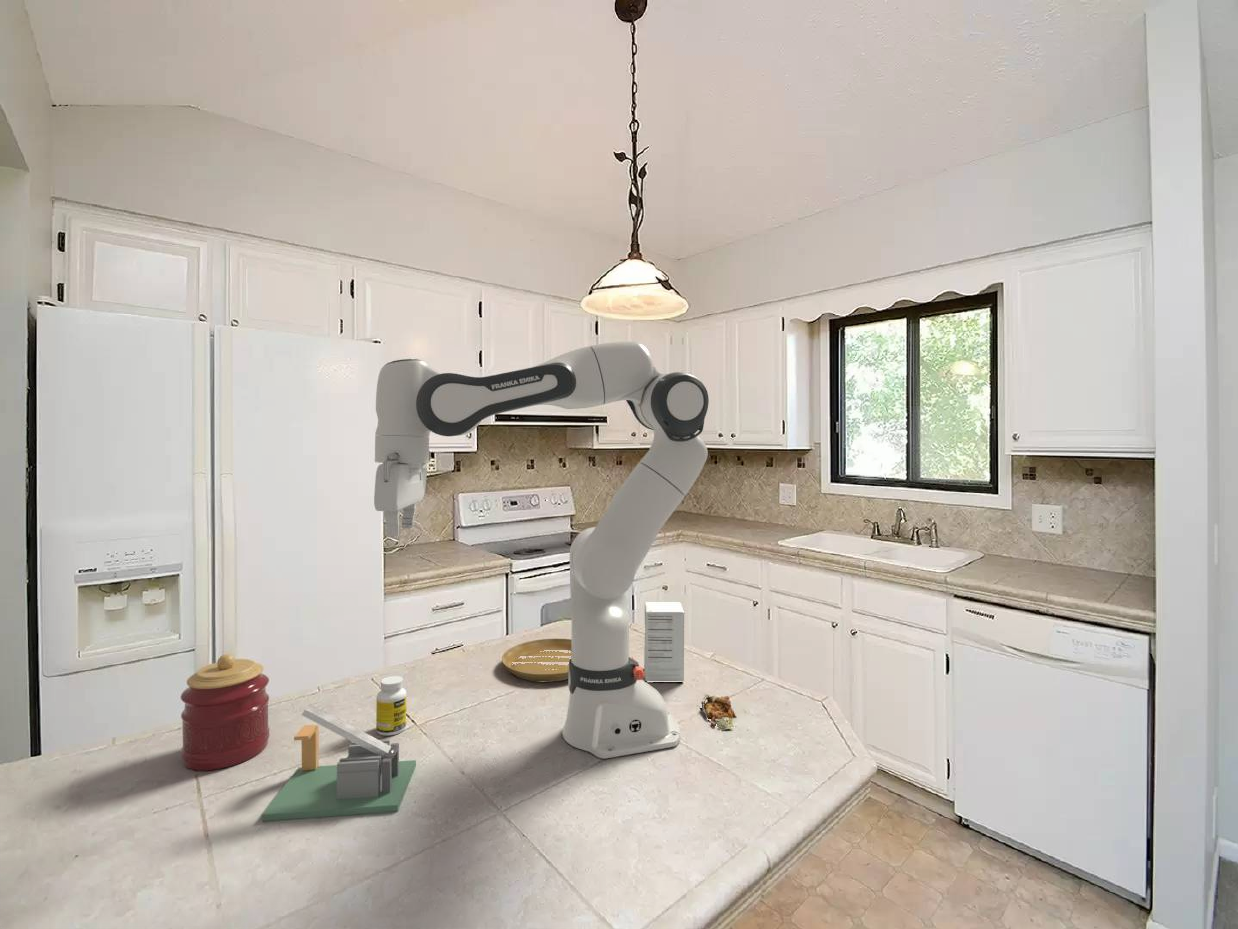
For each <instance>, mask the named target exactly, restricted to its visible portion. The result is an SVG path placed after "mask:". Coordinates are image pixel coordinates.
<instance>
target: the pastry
mask: <svg viewBox="0 0 1238 929" xmlns="http://www.w3.org/2000/svg"><path fill="white" fill-rule="evenodd" d="M701 704H702V709H701V710H702V712H703V713H704V714H705V719H706V718H708V719H711V722H710V726H711V725H712V726H713V727H712V726H711V727H712V728H714V727H715V726H716V724H717V727H718V728H716V729H717V730H718V731H720V730H723V731H727V730H731V731H733V730H732V729H733V728H731V727H734V725H735V722H734V720H733V719H734V717H736V716H735V715H736V713H735V711H734V710H733V708H732V703H731V700H730V697H729V696H727V695H726V696H720V695H718V694H715V695H712V696H711V695H709V694H706V693H705V694H704V697H703V699H702V701H701Z"/></svg>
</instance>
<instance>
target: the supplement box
mask: <svg viewBox="0 0 1238 929" xmlns="http://www.w3.org/2000/svg"><path fill="white" fill-rule="evenodd" d="M643 658H644V659H643V660H644V661H643V662H644V664H643V666H644V667H643V671H644V674H645V675H644V681H685V678H684V677H685V611H684V609H683V606H682V603H681V602H678V601H677V602H676V601H669V602H668V601H664V602H663V601H662V602H661V601H660V602H659V601H645V602H644V652H643Z"/></svg>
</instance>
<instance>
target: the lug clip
mask: <svg viewBox="0 0 1238 929" xmlns="http://www.w3.org/2000/svg"><path fill="white" fill-rule="evenodd" d="M293 741H301V767H302V770H316V769H317V767H318V766H320V762H319V760H320V758H319V752H320V751H319V750H320V749H319V746H320V745H319V724H305V725H303V726H302V727H301V728H300V729H299V730H298V731H297V733H296V734H295V735H294V736H293Z"/></svg>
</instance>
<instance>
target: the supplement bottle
mask: <svg viewBox="0 0 1238 929" xmlns="http://www.w3.org/2000/svg"><path fill="white" fill-rule="evenodd" d="M403 682H404V680H403V677H402V676H397V675H391V676H388V677H387V676H386V677H384V678H383V679H381V680H380V690H379V691H378V692H377V695H376V722H375V723H376V724H375V725H376V728H375V729H376V733H377V734H378V735H380V736H383V737H384V736H385V737H386V736H387V737H389V736H395V735H398V734H400V733H402V732H404V730H406V728H407V691H406V689H405V688H404V687H403V685H404V683H403Z"/></svg>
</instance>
